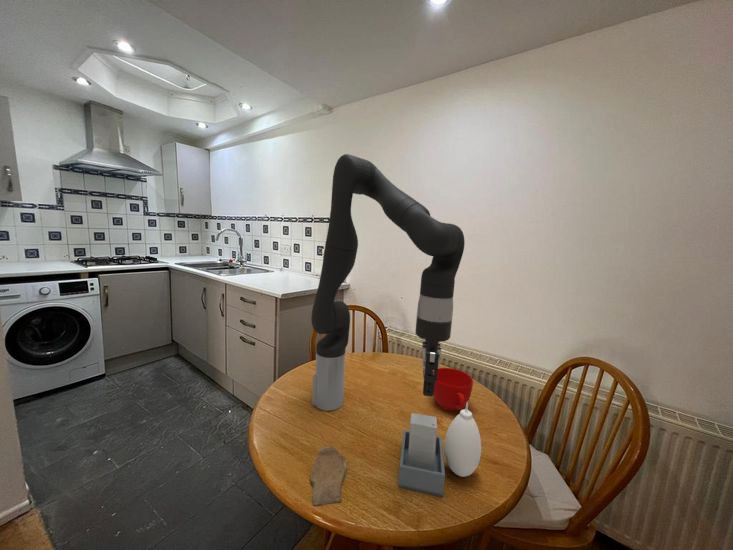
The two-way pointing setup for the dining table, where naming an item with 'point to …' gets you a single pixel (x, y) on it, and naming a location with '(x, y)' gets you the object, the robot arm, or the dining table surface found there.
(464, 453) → the sauce bottle
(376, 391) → the dining table surface
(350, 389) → the dining table surface
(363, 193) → the robot arm
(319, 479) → the pottery shard
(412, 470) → the bin
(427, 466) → the skincare box
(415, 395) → the dining table surface
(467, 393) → the ceramic cup
